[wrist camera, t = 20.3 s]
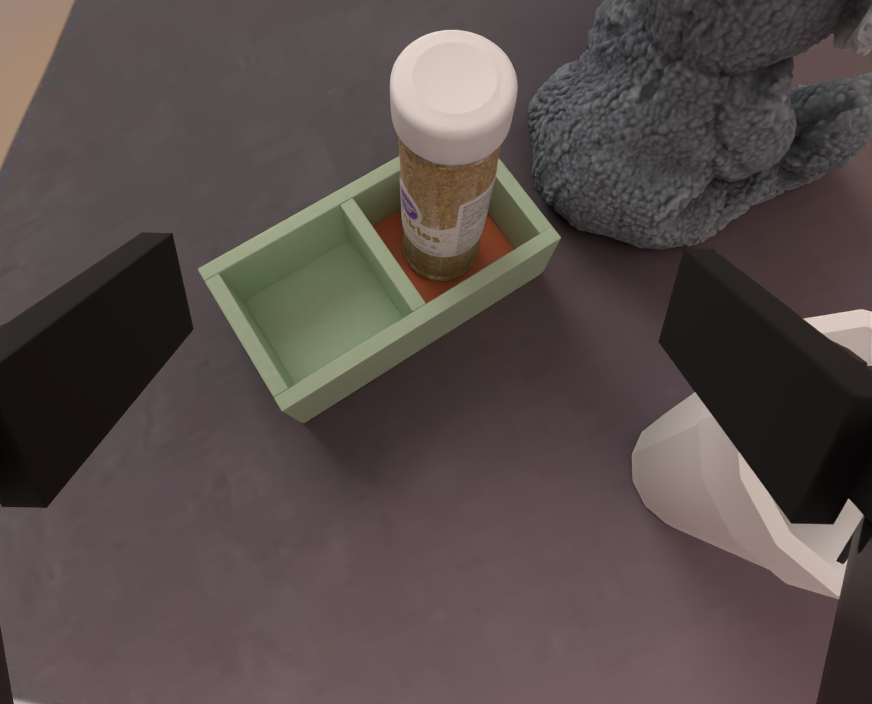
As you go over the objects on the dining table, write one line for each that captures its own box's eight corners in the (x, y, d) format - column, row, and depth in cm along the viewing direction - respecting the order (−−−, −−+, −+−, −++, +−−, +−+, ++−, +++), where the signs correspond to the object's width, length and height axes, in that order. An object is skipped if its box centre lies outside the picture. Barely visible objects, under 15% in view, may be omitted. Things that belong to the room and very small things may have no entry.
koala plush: (842, 167, 35) (1345, -227, 16) (638, 331, 32) (957, 87, 13) (655, -7, 38) (883, -505, 19) (453, 127, 35) (487, -310, 16)
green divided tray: (229, 300, 32) (196, 268, 27) (461, 166, 34) (467, 117, 30) (303, 424, 30) (281, 411, 25) (542, 273, 32) (561, 237, 28)
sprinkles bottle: (386, 247, 32) (360, 74, 19) (442, 199, 33) (454, 1, 20) (441, 300, 31) (454, 158, 18) (496, 249, 32) (547, 78, 19)
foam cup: (782, 568, 28) (1067, 626, 16) (606, 558, 28) (751, 608, 16) (764, 390, 31) (998, 317, 18) (602, 380, 31) (724, 301, 18)
